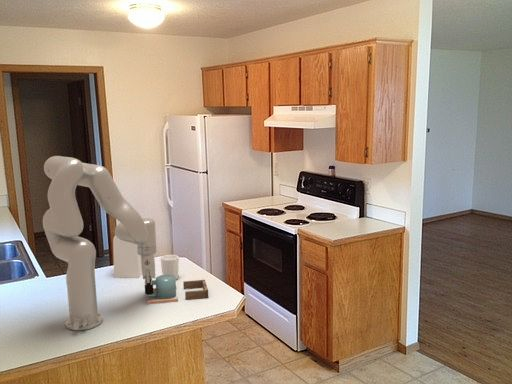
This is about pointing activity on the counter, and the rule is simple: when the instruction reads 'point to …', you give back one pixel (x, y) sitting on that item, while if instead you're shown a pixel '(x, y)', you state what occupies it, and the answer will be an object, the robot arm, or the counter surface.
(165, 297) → the jug
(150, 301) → the strips
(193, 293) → the brown wooden frame
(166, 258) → the white cup
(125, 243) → the milk
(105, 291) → the counter surface
